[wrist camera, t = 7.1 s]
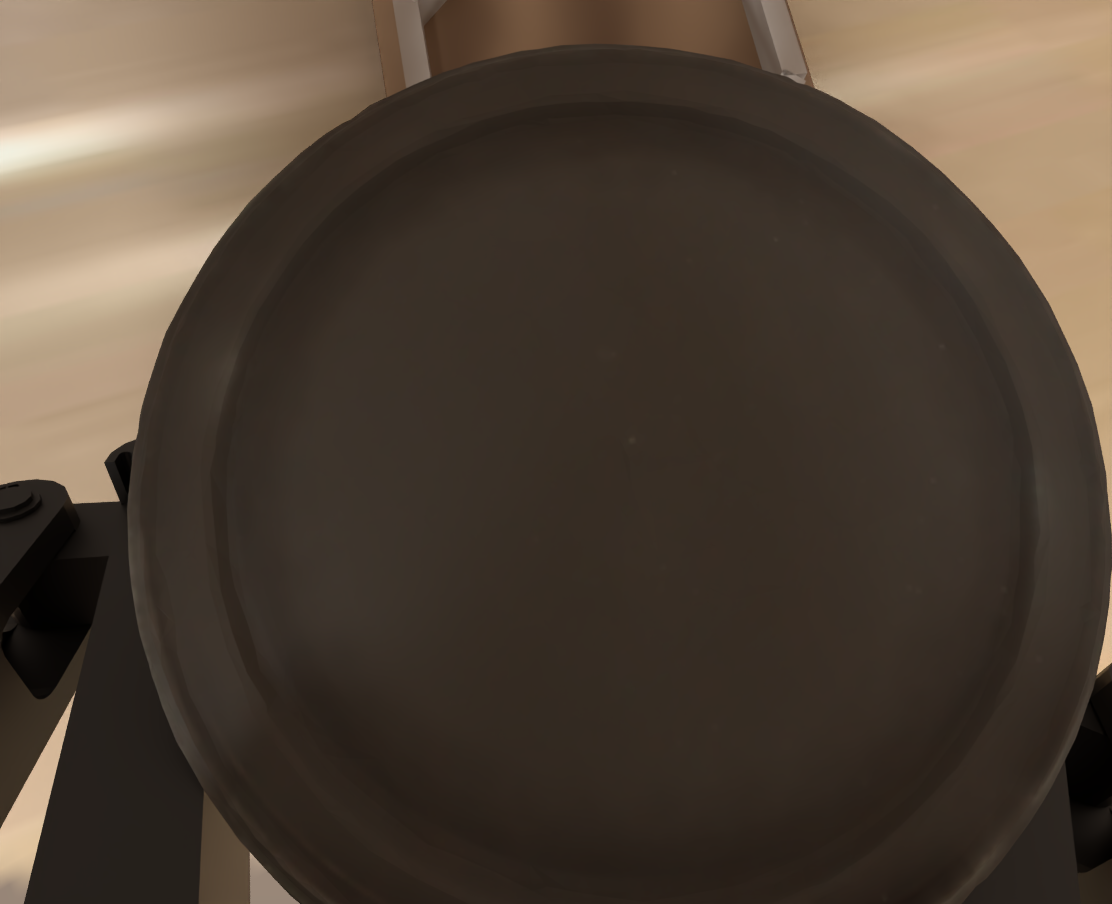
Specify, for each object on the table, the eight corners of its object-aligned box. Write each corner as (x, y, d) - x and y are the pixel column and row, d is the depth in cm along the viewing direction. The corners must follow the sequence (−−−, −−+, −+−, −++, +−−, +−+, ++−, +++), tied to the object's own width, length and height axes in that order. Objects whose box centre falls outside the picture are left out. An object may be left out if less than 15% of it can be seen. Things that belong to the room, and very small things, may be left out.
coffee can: (368, 473, 20) (-41, 281, 6) (612, 338, 21) (762, -88, 7) (510, 738, 18) (423, 1342, 4) (764, 577, 19) (1334, 639, 6)
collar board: (425, 309, 23) (407, 270, 20) (373, -34, 26) (350, -113, 23) (829, 244, 24) (872, 198, 21) (732, -78, 27) (756, -160, 24)
